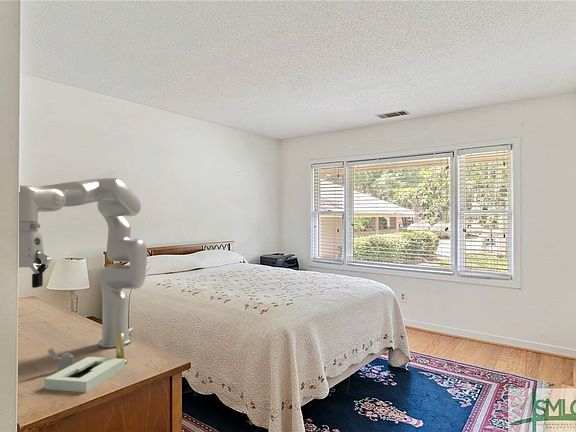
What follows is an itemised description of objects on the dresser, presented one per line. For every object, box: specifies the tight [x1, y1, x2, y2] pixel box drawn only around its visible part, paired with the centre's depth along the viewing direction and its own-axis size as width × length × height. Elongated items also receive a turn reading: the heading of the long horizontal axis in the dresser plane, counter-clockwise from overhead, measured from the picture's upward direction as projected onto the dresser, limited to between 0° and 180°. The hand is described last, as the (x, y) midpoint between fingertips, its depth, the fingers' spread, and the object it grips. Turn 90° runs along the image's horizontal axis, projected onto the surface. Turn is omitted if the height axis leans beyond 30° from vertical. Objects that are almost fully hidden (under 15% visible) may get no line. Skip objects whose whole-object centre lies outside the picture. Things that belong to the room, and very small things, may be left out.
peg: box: [115, 333, 128, 366], centre depth 127 cm, size 4×4×10 cm
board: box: [43, 356, 126, 393], centre depth 115 cm, size 18×14×3 cm
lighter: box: [47, 347, 74, 372], centre depth 121 cm, size 7×2×8 cm, turn 127°
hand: (21, 286), depth 106 cm, fingers open, 9 cm apart
